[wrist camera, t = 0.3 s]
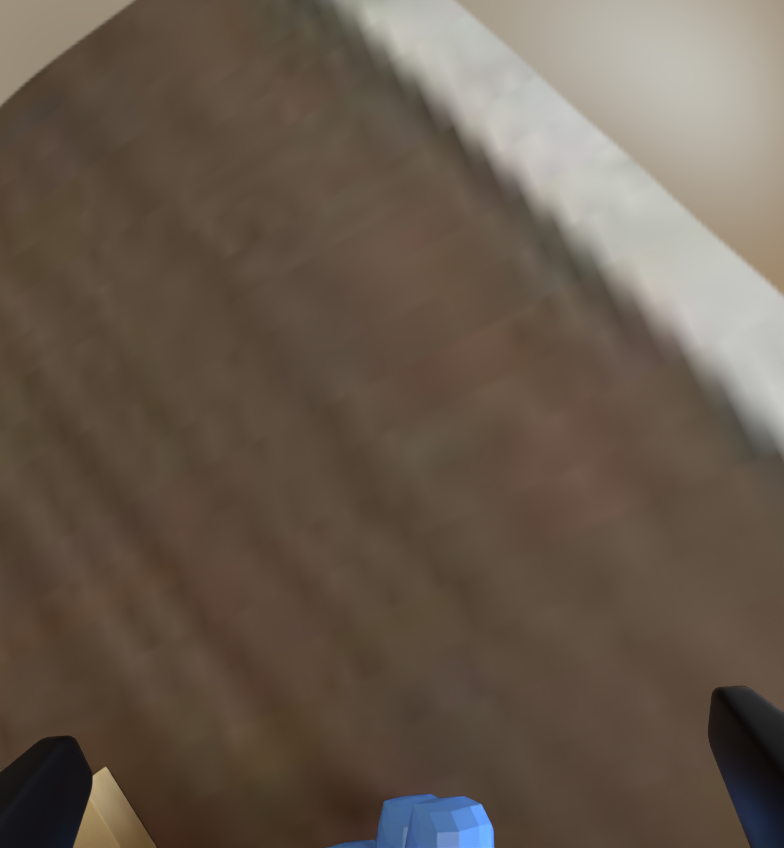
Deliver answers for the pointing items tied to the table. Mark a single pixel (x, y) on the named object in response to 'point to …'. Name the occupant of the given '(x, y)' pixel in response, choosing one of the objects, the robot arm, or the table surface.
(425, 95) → the table surface
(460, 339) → the table surface
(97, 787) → the board
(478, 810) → the grapes
